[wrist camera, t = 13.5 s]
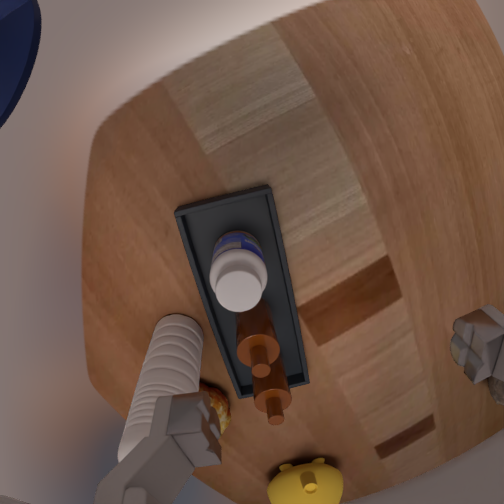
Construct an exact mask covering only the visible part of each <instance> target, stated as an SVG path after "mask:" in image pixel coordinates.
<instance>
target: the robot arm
mask: <svg viewBox="0 0 504 504" xmlns="http://www.w3.org/2000/svg"><path fill="white" fill-rule="evenodd" d="M453 331H454V332H455V334H454V336H453V337H452V339H451V342H450V351H451V355H452V358H453V360H454V361H455V362H456V363H457V365H460V366H463V367H464V373H465V374H466V375H467V377H468V378H469V379H470V380H471V381H472V383H473V384H476V383H478V382H480V381H482V380H484V379H486V378H487V377H489V376H491V375H492V376H493V377H495V378H497V379H499V380H501V381H504V315H503V314H502V313H501V312H500V311H499V310H497V309H496V308H495V307H494V306H492V305H490V304H487V305H485V306H483V307H481V308H479V309H477V310H475V311H473V312H470V313H468V314H466V315H464V316H462V317H459V318H457V319H456V320H455V322H454V324H453ZM220 436H221V426H220V420H219V417H218V414H217V411H216V409H215V408H214V407H212V406H211V399H210V397H209V395H208V393H207V392H206V391H201V392H193V393H185V394H176V395H169V396H159V397H158V398H157V400H156V404H155V409H154V413H153V418H152V423H151V428H150V434H149V437H144V438H143V439H142V440H141V441H140V442H139V443H138V444H137V445H136V446H135V447H134V448H133V449H132V450H131V451H130V452H129V453H128V454H127V455H126V456H125V457H124V458H123V459H122V460H121V461H120V462H119V463H118V464H117V465H116V466H115V467H114V468H113V469H112V470H111V471H110V472H109V473H108V474H107V475H106V476H105V477H104V479H102V480H101V481H100V482H99V483H98V486H97V490H96V493H95V498H94V503H93V504H172V503H173V501H174V500H175V498H176V497H177V495H178V494H179V492H180V491H181V489H182V488H183V486H184V485H185V483H186V482H187V480H188V479H189V477H190V476H191V474H192V473H193V471H194V470H195V468H194V467H202V466H211V465H218V464H221V446H220V444H219V442H218V439H219V438H220ZM0 504H29V503H26V502H23V501H19V500H17V499H14V498H11V497H7V496H3V495H0ZM342 504H504V428H503V429H502V430H501V431H499V432H497V433H496V434H494V435H493V436H491V437H490V438H488V439H487V440H485V441H483V442H482V443H480V444H478V445H477V446H475V447H473V448H472V449H470V450H468V451H466V452H465V453H463V454H461V455H459V456H457V457H456V458H454V459H452V460H450V461H448V462H446V463H444V464H442V465H440V466H438V467H436V468H434V469H432V470H430V471H428V472H425V473H423V474H421V475H419V476H417V477H414V478H412V479H410V480H407V481H405V482H402V483H400V484H398V485H395V486H392V487H390V488H387V489H385V490H382V491H379V492H376V493H373V494H370V495H368V496H365V497H361V498H358V499H355V500H352V501H349V502H345V503H342Z"/></svg>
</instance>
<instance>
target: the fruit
mask: <svg viewBox="0 0 504 504" xmlns="http://www.w3.org/2000/svg"><path fill="white" fill-rule="evenodd" d="M201 391H206V392H207V393H208V395H209V397H210V399H211V406H212V407H214V408H215V409H216V411H217V414H218V417H219V420H220V426H221V436H222V433H223V432H224V430H225V429H226V427H227V426H228V425H229V423H230V421H231V414H230V410H229V409H230V408H228V401H227V398H226V397H225V396H224V395H223V393H221V391H220V390H218V389H217V388H214V387H207V384H205V383H201V382H199V391H198V392H201ZM221 436H220V437H221Z"/></svg>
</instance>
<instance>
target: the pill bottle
mask: <svg viewBox="0 0 504 504" xmlns="http://www.w3.org/2000/svg"><path fill="white" fill-rule="evenodd" d="M210 284H211V287H212V289H213V291H214V292H215V294H216V297H217V300H218V301H219V303H220V304H221V305H222V306H223V307H224V308H226V309H228V310H230V311H234V312H243V311H247V310H249V309H251V308H253V307H254V306H255V305H256V304H257V303H258V302H259V300H260V298H261V295H262V292H263V291H264V289H265V287H266V284H267V270H266V266H265V262H264V258H263V254H262V250H261V246H260V244H259V242H258V241H257V239H256V238H255V237H254V236H252V235H251V234H249V233H247V232H244V231H231V232H228V233H226V234H224V235H223V236H221V237H220V238H219V239H218V241H217V242H216V244H215V247H214V251H213V257H212V263H211V269H210Z"/></svg>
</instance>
